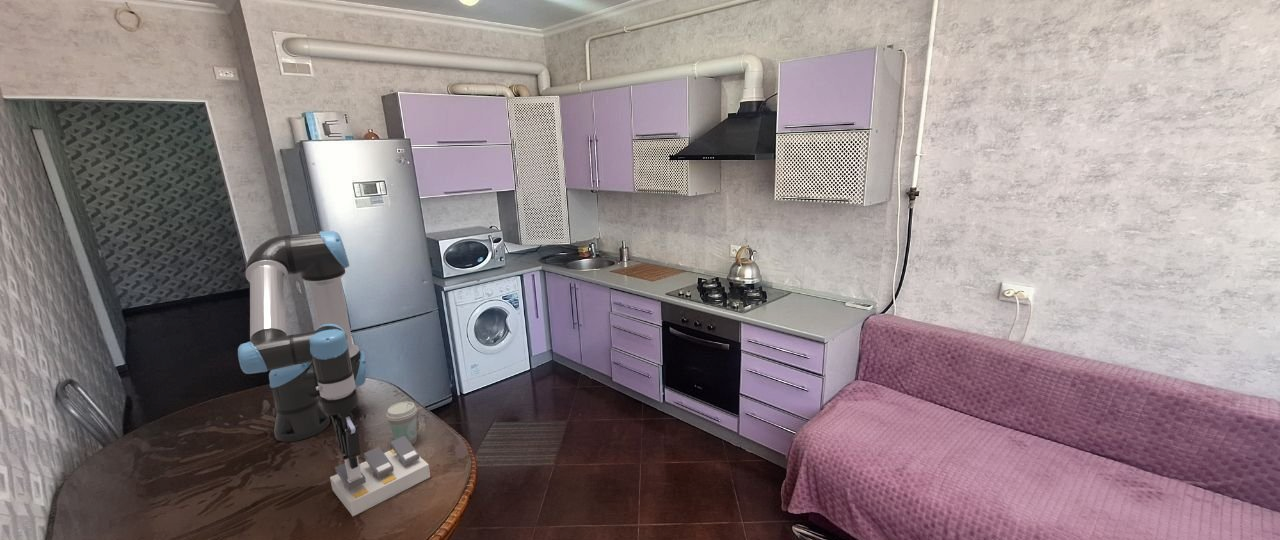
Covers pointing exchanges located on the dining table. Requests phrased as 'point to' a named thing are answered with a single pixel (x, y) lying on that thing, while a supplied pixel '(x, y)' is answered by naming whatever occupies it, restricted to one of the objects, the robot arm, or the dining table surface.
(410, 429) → the coffee cup
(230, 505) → the dining table surface
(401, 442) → the switch
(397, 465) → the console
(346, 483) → the switch
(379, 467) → the switch
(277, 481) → the dining table surface
